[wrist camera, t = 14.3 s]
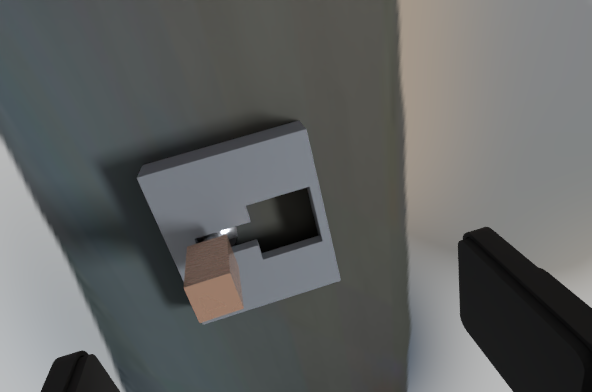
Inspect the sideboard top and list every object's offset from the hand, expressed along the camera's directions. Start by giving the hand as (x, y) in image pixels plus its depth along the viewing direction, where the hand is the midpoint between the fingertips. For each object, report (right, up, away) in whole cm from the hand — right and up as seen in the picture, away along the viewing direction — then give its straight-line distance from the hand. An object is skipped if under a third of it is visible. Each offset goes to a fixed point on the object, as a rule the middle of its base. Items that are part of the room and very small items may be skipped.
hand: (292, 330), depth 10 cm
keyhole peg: (-8, 0, +31) cm, 32 cm away
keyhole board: (-5, +1, +31) cm, 31 cm away
